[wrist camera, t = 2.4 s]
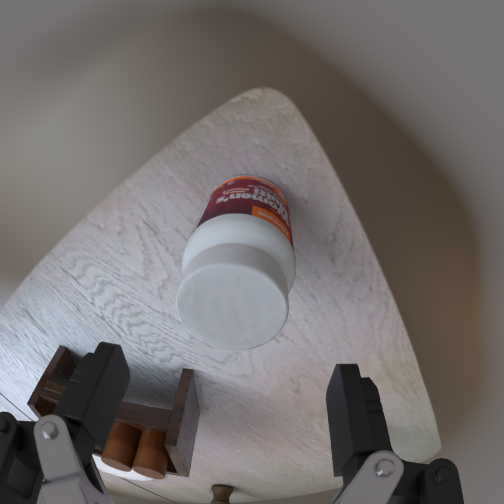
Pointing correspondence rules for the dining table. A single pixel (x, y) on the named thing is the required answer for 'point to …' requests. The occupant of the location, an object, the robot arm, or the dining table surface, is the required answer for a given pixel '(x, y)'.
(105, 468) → the plate
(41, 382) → the spice rack
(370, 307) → the dining table surface
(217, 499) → the kendama
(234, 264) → the pill bottle
